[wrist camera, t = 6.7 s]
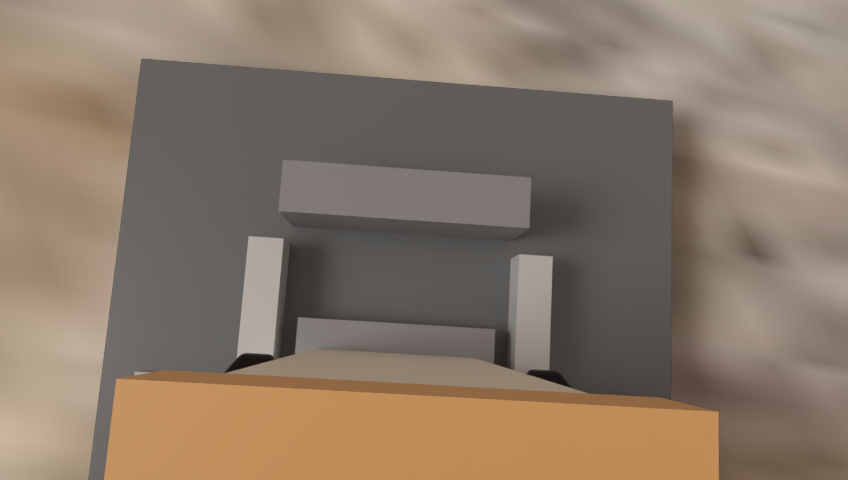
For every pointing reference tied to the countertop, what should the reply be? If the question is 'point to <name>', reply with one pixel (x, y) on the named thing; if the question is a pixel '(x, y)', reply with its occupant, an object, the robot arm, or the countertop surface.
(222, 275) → the grey slider track
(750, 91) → the countertop surface
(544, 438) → the fader
